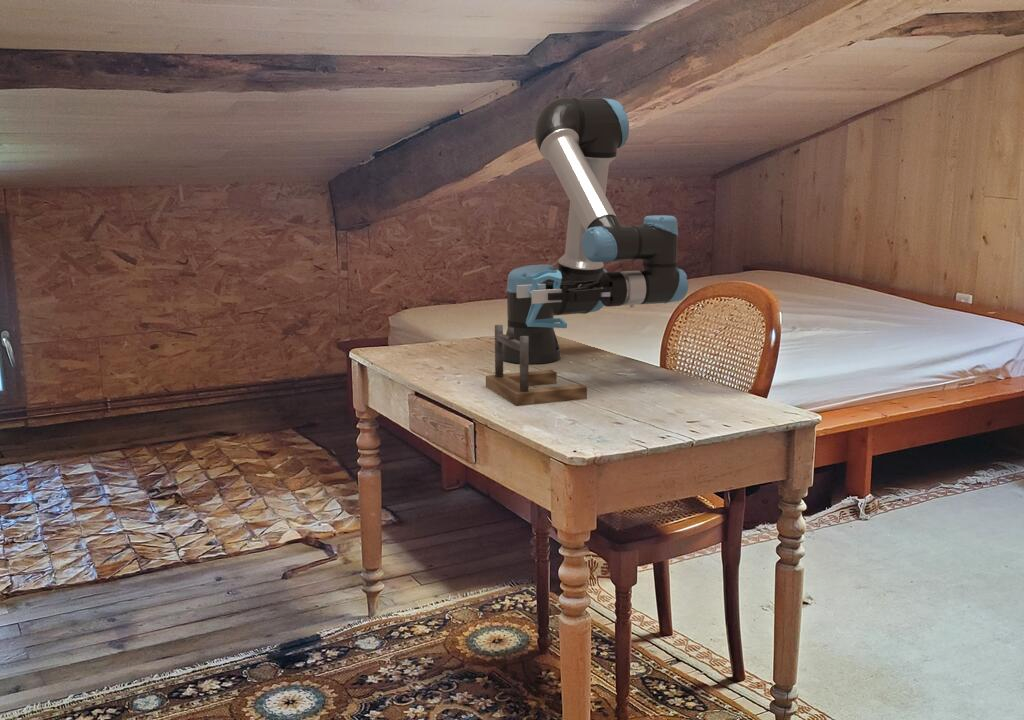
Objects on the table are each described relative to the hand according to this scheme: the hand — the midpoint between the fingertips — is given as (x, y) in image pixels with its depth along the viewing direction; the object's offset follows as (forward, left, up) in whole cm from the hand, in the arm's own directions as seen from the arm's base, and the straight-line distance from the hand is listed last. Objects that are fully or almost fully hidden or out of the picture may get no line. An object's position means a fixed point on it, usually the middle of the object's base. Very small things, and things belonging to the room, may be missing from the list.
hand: (524, 294), depth 210 cm
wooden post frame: (-3, 0, -22) cm, 22 cm away
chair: (-5, +1, -7) cm, 9 cm away
